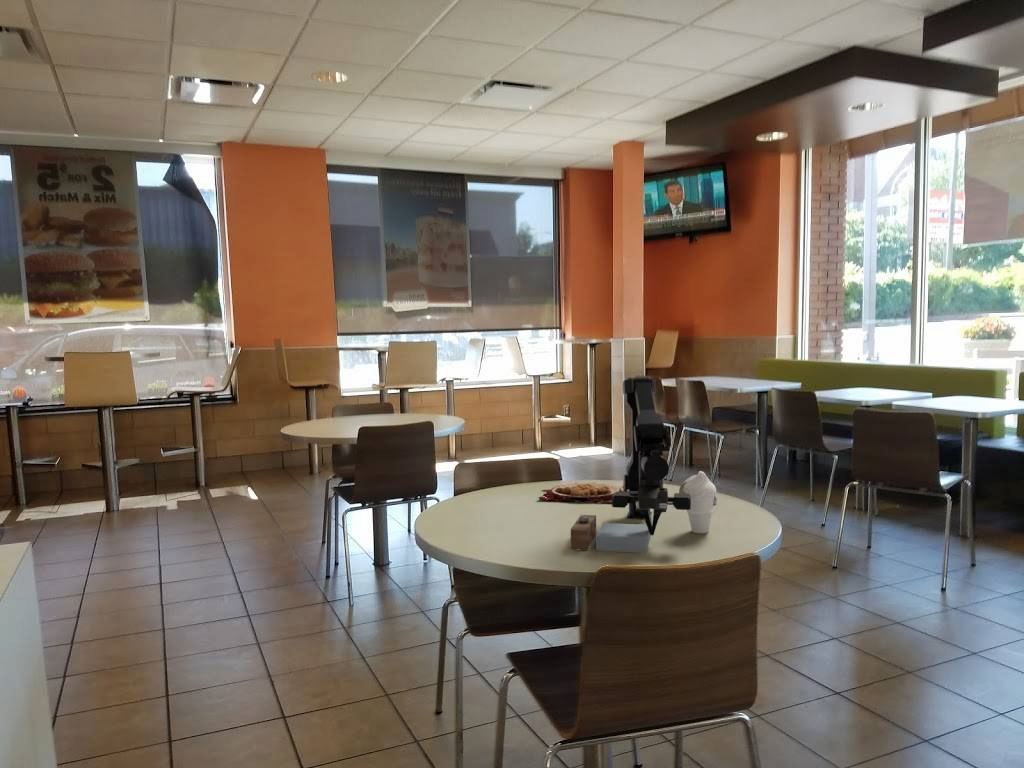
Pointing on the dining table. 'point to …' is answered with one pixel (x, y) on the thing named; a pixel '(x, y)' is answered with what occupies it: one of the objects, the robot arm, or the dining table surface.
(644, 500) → the robot arm
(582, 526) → the walnut bench dog
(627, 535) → the blue-grey square block
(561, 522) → the dining table surface
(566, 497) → the plate with food
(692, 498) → the soft serve ice cream cone
